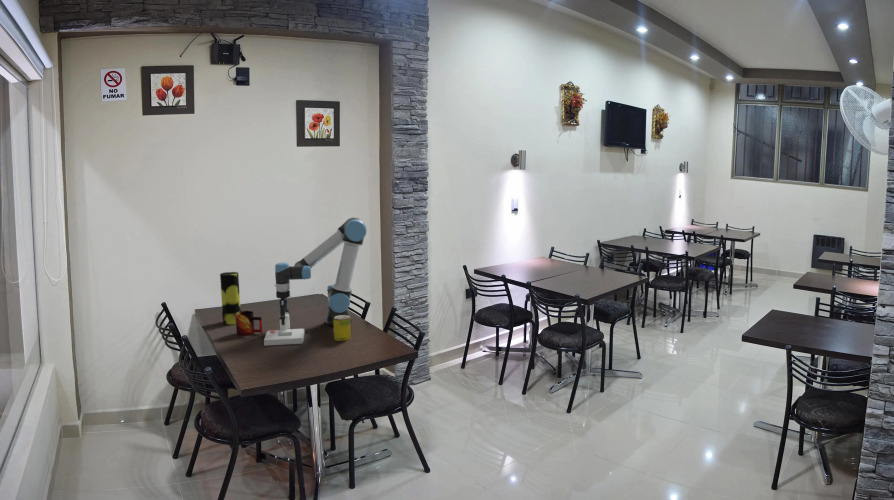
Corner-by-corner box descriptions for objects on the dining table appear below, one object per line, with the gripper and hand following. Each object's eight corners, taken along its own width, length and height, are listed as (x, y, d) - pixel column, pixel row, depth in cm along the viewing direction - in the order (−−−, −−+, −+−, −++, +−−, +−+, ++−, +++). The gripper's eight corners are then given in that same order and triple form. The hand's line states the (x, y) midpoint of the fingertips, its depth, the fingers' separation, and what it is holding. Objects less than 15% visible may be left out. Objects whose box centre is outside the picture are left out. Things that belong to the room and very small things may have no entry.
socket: (304, 333, 349) (304, 327, 348) (302, 343, 331) (302, 336, 331) (267, 335, 345) (267, 329, 345) (264, 345, 328) (263, 339, 327)
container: (226, 325, 365) (223, 276, 360) (220, 322, 373) (217, 273, 368) (244, 322, 371) (241, 273, 367) (237, 318, 380) (234, 271, 375)
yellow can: (354, 337, 342) (353, 316, 340) (343, 341, 334) (343, 320, 332) (341, 335, 346) (340, 314, 344) (330, 339, 338) (329, 318, 336)
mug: (262, 334, 348) (261, 313, 346) (236, 336, 344) (235, 316, 342) (262, 329, 357) (260, 309, 355) (236, 332, 353) (235, 311, 351)
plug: (289, 330, 354) (289, 314, 352) (289, 332, 350) (288, 315, 349) (280, 331, 353) (280, 314, 352) (280, 333, 349) (279, 316, 348)
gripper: (278, 285, 359) (279, 321, 363) (273, 295, 335) (275, 333, 338) (291, 285, 361) (292, 320, 364) (288, 295, 336) (289, 332, 340)
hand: (284, 326), depth 351 cm, fingers open, 13 cm apart
